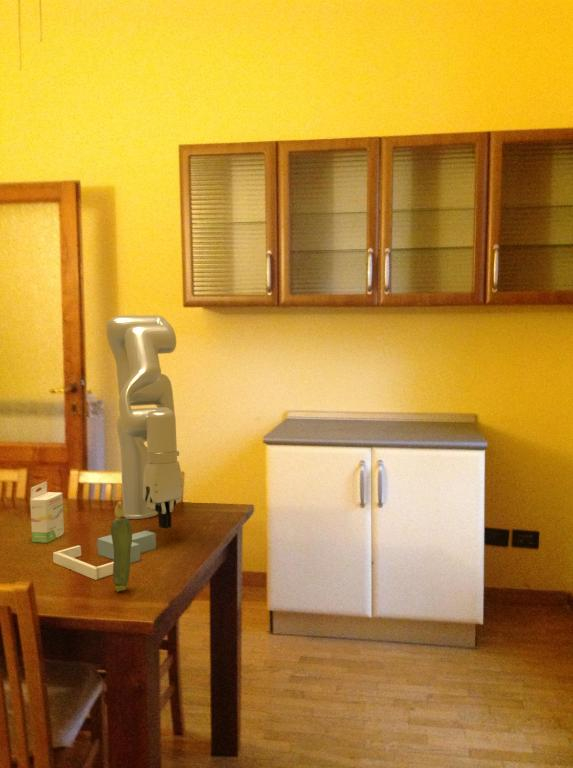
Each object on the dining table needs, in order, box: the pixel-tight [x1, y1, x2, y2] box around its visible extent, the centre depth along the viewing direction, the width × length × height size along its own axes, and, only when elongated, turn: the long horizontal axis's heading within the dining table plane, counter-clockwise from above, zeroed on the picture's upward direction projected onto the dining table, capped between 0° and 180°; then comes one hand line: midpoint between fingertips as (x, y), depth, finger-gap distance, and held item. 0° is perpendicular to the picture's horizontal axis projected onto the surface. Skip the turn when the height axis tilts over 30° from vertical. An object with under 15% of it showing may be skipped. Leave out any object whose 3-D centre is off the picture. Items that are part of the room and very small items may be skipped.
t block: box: [96, 529, 157, 564], centre depth 174 cm, size 12×12×4 cm
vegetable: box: [110, 500, 133, 593], centre depth 149 cm, size 4×4×20 cm
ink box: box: [29, 481, 65, 544], centre depth 187 cm, size 9×5×15 cm, turn 168°
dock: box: [52, 545, 114, 581], centre depth 165 cm, size 7×18×2 cm, turn 49°
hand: (165, 527), depth 181 cm, fingers closed
